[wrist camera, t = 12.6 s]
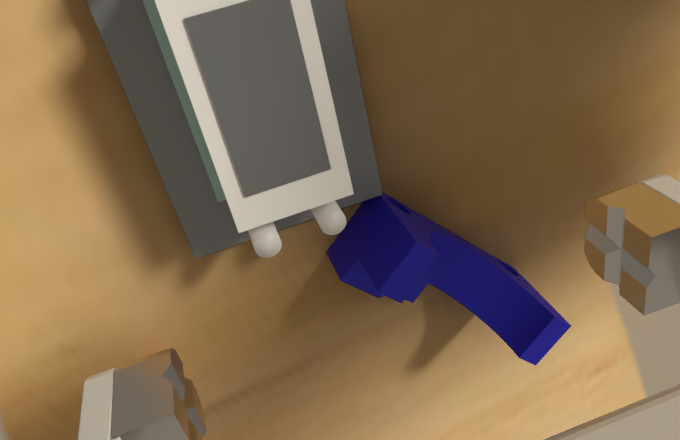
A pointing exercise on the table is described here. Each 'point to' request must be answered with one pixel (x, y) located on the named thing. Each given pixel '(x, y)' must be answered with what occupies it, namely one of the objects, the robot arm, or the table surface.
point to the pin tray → (187, 138)
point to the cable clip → (442, 273)
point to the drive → (260, 103)
